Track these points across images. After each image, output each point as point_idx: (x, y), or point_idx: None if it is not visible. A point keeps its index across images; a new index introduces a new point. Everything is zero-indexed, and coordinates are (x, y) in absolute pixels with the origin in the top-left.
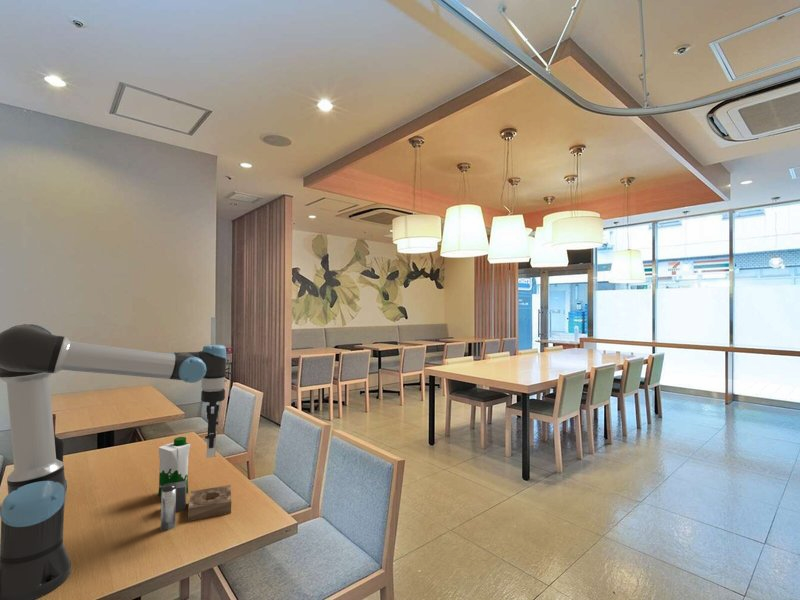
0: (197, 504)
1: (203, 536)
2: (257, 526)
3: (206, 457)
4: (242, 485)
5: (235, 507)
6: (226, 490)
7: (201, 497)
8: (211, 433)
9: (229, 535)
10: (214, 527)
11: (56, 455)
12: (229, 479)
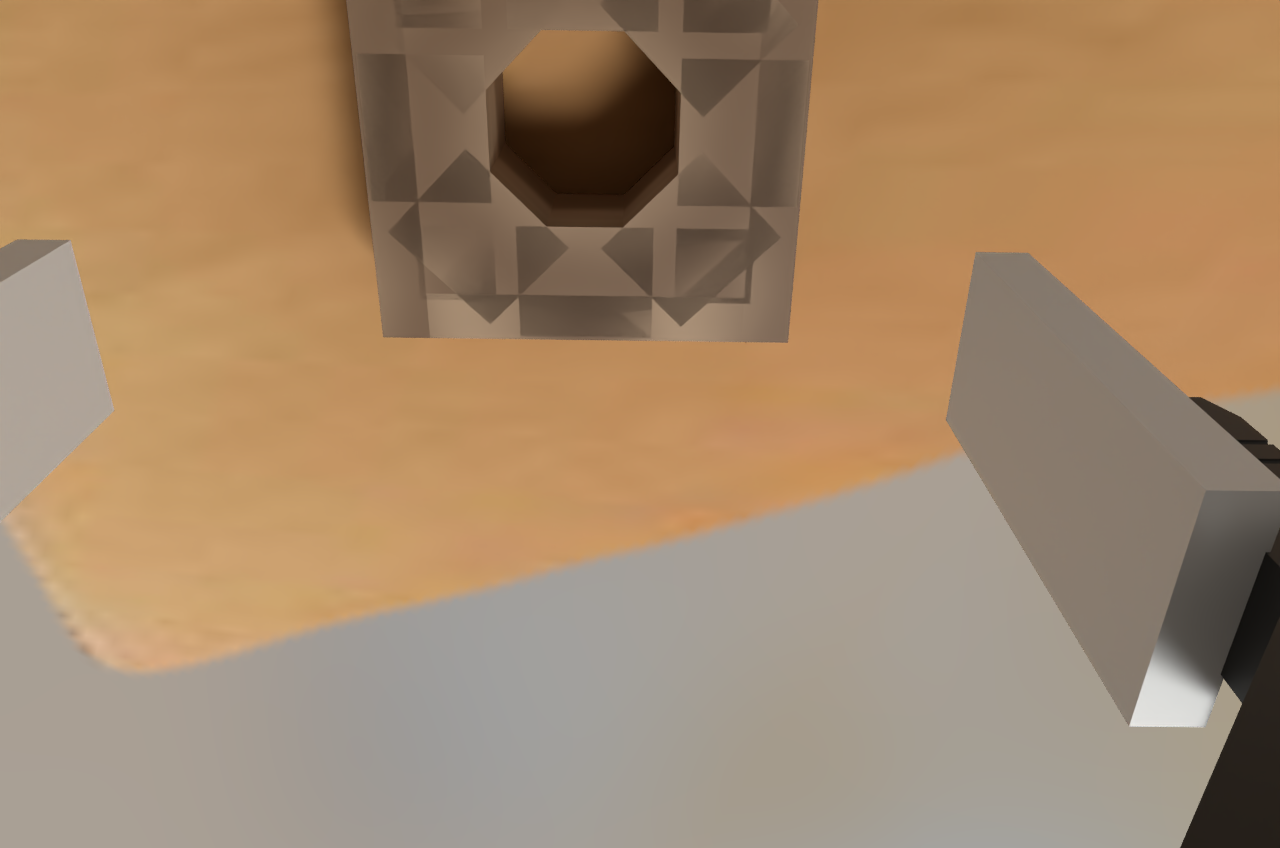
0: None
1: (27, 51)
2: (117, 473)
3: (8, 246)
4: None
5: None
6: (659, 299)
7: (583, 27)
8: (1064, 455)
9: None
10: (173, 148)
11: None
12: (1187, 304)
